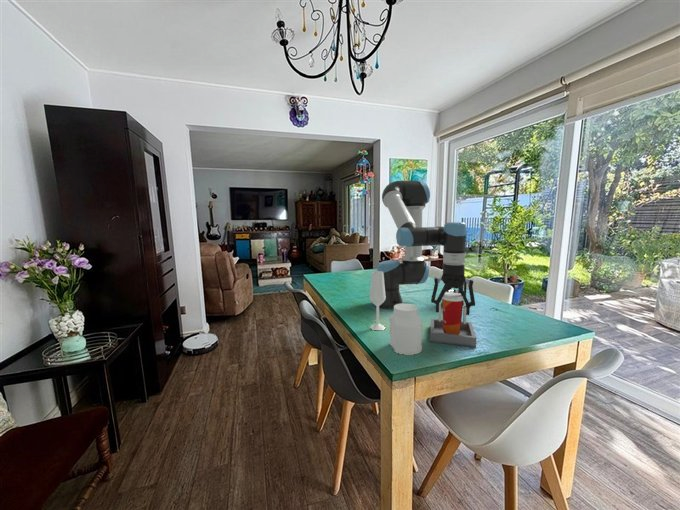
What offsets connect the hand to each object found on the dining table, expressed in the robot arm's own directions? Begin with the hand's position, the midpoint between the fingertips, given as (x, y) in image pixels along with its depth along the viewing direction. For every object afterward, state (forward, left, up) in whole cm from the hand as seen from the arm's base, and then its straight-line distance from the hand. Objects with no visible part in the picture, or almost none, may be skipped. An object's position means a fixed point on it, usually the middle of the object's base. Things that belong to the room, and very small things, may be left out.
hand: (451, 321), depth 106 cm
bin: (0, 0, -6) cm, 6 cm away
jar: (-16, -15, -6) cm, 23 cm away
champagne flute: (-29, 0, -6) cm, 30 cm away
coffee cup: (0, 0, -4) cm, 4 cm away
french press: (+4, +44, -6) cm, 45 cm away
